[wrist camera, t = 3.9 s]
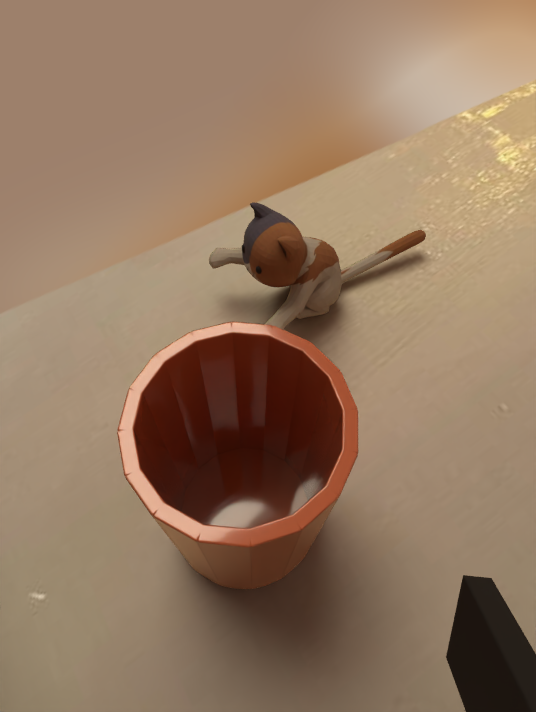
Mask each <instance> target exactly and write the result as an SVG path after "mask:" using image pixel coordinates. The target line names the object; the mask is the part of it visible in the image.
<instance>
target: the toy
mask: <svg viewBox="0 0 536 712" xmlns="http://www.w3.org/2000/svg"><path fill="white" fill-rule="evenodd" d="M250 205H251V207H252V208H253V209H254V213H255V218H254V219H253V220H252V221H251V223H250V224H249V225H248V227H247V229H246V231H245V235H244V243H243V245H242V248H234V249H226V248H216V249H215V250H214V251H213V252H212V253H211V255H210V258H209V264H210V265H211V266H212V268H218V267H220V266H223V265H226V264H230V263H235V264H241V265H245V267H246V268H247V270H248V271H249V273H250V274H251V275H252V276H253V277H254V278H255V279H256V280H258V281H259V282H261V283H263V284H265V285H268V286H271V287H285V286H289V285H290V291H289V295H288V297H287V300H286V301H285V302H284V303H283V305H282V306H281V307H280V308H279V309H278V311H277V312H276V313H275V314H274V315H273V316H272V317H271V318H270V319H269V320H268V321H267V322H266V323H265V325H272V326H276V327H278V328H280V329H284V328H285V327H286V326H287V325H288V324H289V323H290V322H291V321H292V320H294V319H295V318H299V319H302V318H306V317H310V316H317V315H322V314H325V313H327V312H328V311H329V306H330V305H332V304H334V303H335V302H336V300H337V299H338V297H339V295H340V290H341V284H342V283H344V282H345V281H347V280H349V279H351V278H353V277H355V276H357V275H359V274H361V273H363V272H364V271H366V270H368V269H370V268H372V267H374V266H376V265H378V264H380V263H382V262H384V261H386V260H388V259H389V258H391V257H393V256H395V255H397V254H399V253H401V252H403V251H405V250H407V249H409V248H411V247H413V246H415V245H417V244H419V243H420V242H422V241H424V239H425V237H426V234H425V232H424V231H422V230H418V231H414V232H412V233H410V234H408V235H406V236H404V237H402V238H401V239H399V240H397V241H395V242H393V243H391V244H390V245H388V246H386V247H384V248H382V249H380V250H379V251H377V252H375V253H373V254H371V255H369V256H368V257H366V258H364V259H362V260H360V261H358V262H356V263H354V264H353V265H351V266H349V267H347V268H345V269H343V270H341V269H340V265H339V259H338V256H337V254H336V252H335V250H334V248H332V247H331V246H330V245H329V244H327V243H326V242H324V241H322V240H319V239H316V238H308V237H302V235H301V233H300V231H299V229H298V228H297V227H296V226H295V224H294V223H293V222H292V221H290V220H289V219H288V218H286V217H285V216H283V215H281V214H280V213H277V212H275V211H273V210H272V209H270V208H268V207H266V206H264V205H262V204H259V203H251V204H250Z"/></svg>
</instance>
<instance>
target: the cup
mask: <svg viewBox="0 0 536 712" xmlns="http://www.w3.org/2000/svg"><path fill="white" fill-rule="evenodd" d="M117 434H118V440H119V446H120V452H121V458H122V464H123V470H124V475H125V477H126V480H127V481H128V482H129V484H130V485H131V487H132V488H133V490H134V491H135V493H136V494H137V495H138V497H139V498H140V500H141V501H142V503H143V504H144V505H145V507H146V508H147V510H148V511H149V513H150V514H151V515H152V517H153V518H154V519H155V521H156V522H157V523H158V524H159V526H160V527H161V528H162V529H163V531H164V532H165V533H166V535H167V536H168V537H169V538H170V540H171V541H172V542H173V543H174V545H175V546H176V547H177V548H178V550H179V551H180V552H181V554H182V555H183V556H184V557H185V559H186V560H187V561H188V562H189V564H190V565H191V566H192V568H193V569H194V570H195V571H197V572H198V573H200V574H201V575H203V576H204V577H206V578H207V579H209V580H210V581H213V582H215V583H217V584H218V585H221V586H225V587H229V588H235V589H254V588H259V587H263V586H267V585H269V584H271V583H274V582H276V581H278V580H280V579H281V578H283V577H284V576H286V575H287V574H288V573H289V572H291V571H292V570H293V569H294V568H295V567H296V566H297V565H298V564H299V563H300V562H301V561H302V560H303V559H304V557H305V556H306V554H307V552H308V551H309V549H310V547H311V545H312V544H313V542H314V540H315V538H316V537H317V535H318V533H319V531H320V530H321V528H322V526H323V524H324V523H325V521H326V519H327V517H328V516H329V514H330V512H331V510H332V509H333V507H334V505H335V503H336V502H337V500H338V498H339V496H340V494H341V492H342V490H343V487H344V485H345V483H346V481H347V478H348V476H349V474H350V472H351V469H352V467H353V465H354V463H355V460H356V458H357V456H358V455H357V454H358V410H357V407H356V404H355V402H354V400H353V398H352V395H351V393H350V391H349V389H348V386H347V384H346V382H345V380H344V377H343V375H342V373H341V372H340V370H339V369H338V368H337V367H336V366H335V365H334V364H333V363H332V362H331V361H330V360H329V359H328V358H327V357H326V356H325V355H324V354H323V353H322V352H321V351H320V350H319V349H318V348H317V347H316V346H315V345H313V344H312V343H310V342H309V341H307V340H305V339H303V338H301V337H298V336H296V335H294V334H292V333H289V332H287V331H285V330H283V329H280V328H278V327H276V326H272V325H265V324H254V323H242V322H232V323H231V322H228V323H223V324H219V325H215V326H211V327H207V328H203V329H198V330H194V331H191V332H189V333H187V334H186V335H184V336H183V337H181V338H179V339H178V340H176V341H175V342H173V343H172V344H170V345H168V346H167V347H165V348H164V349H162V350H161V351H159V352H157V353H156V354H155V355H154V356H153V357H152V358H151V360H150V361H149V362H148V364H147V365H146V366H145V367H144V369H143V370H142V371H141V373H140V374H139V375H138V377H137V378H136V379H135V381H134V382H133V383H132V385H131V386H130V387H129V390H128V392H127V396H126V400H125V404H124V407H123V411H122V415H121V419H120V423H119V426H118V432H117Z"/></svg>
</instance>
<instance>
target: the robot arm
mask: <svg viewBox="0 0 536 712" xmlns="http://www.w3.org/2000/svg"><path fill="white" fill-rule="evenodd" d="M446 658H447V661H448V664H449V666H450V669H451V672H452V674H453V677H454V680H455V683H456V685H457V688H458V691H459V694H460V696H461V699H462V702H463V705H464V707H465V710H466V712H536V654H535V652H534V650H533V649H532V647H531V645H530V644H529V642H528V640H527V638H526V637H525V635H524V633H523V632H522V630H521V628H520V626H519V625H518V623H517V621H516V620H515V618H514V616H513V614H512V613H511V611H510V609H509V608H508V606H507V604H506V602H505V601H504V599H503V597H502V596H501V594H500V592H499V590H498V589H497V587H496V585H495V584H494V582H493V580H492V578H484V577H474V576H465V575H463V579H462V584H461V589H460V593H459V598H458V603H457V608H456V613H455V617H454V622H453V627H452V632H451V637H450V641H449V646H448V651H447V656H446Z"/></svg>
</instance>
